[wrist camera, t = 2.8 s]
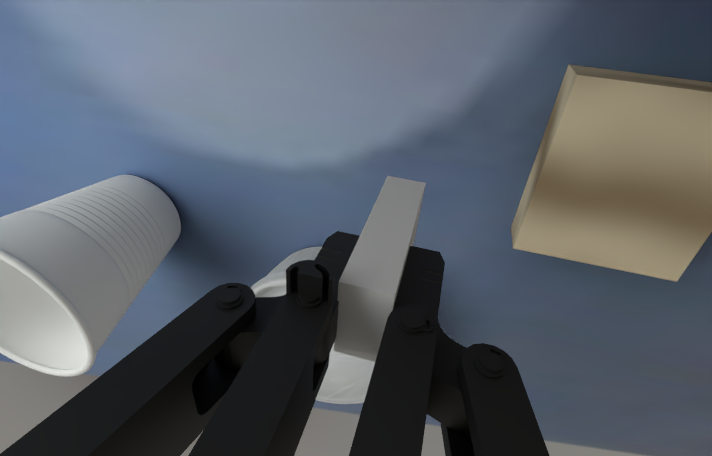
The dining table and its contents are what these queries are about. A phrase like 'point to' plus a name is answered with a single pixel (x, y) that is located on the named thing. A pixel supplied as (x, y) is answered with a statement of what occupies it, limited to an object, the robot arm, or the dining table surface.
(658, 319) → the dining table surface
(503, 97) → the dining table surface
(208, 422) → the robot arm
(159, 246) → the cup
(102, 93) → the dining table surface
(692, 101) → the tan square slab
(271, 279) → the ramekin
